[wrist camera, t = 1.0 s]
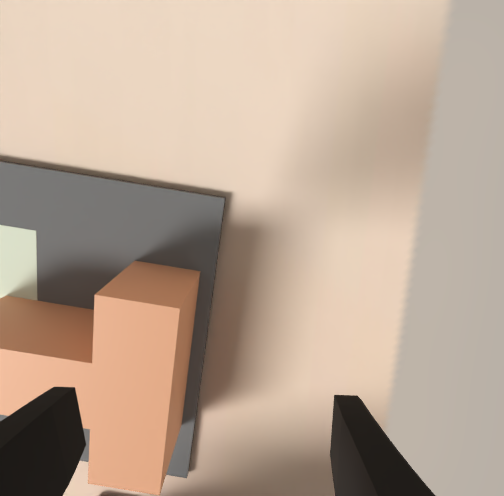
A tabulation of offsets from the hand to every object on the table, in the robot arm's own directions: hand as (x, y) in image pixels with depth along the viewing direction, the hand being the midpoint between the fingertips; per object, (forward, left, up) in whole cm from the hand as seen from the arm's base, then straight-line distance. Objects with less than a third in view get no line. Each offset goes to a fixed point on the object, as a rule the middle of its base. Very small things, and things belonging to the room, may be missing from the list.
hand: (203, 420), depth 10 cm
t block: (-4, +7, -9) cm, 13 cm away
